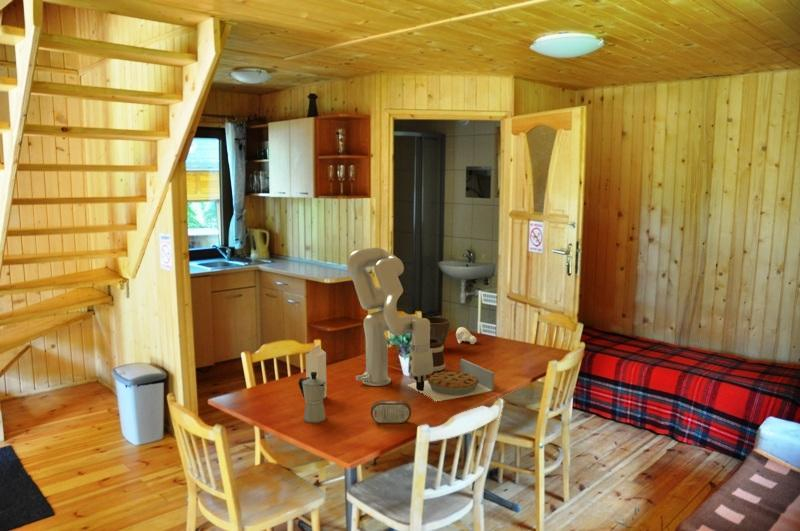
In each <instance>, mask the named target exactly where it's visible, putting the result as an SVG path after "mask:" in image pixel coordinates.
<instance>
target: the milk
mask: <svg viewBox="0 0 800 531" xmlns="http://www.w3.org/2000/svg"><path fill="white" fill-rule="evenodd" d="M311 372H317V376H316V378H319V379H323V380H325V381H326V382H327V353H326V351H324V350H323V349H322V348H321V345H320V344H317V345H315V346H313V347H311V351H309V352H308V353H306V354H305V379H306V378H307V377H310V378H312V377H311ZM325 398H327V383H326V384H325V392H324V398H323V399H325Z"/></svg>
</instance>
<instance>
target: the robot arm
mask: <svg viewBox="0 0 800 531" xmlns="http://www.w3.org/2000/svg"><path fill="white" fill-rule="evenodd" d="M403 263H404V262H403V261H402V260H401V259H400V257H399V258H398V257H397V256H396V255H394V254H392V253H390V252H389V251H387V250H385V249H383V248H381V247H368V248H360V249H357V250H355V251H353V252H352V253H351V254H350V255H349V256H348V259H347V269H348V273H349V276H350V278H351V280H352V282H353V285H354V288H355V292H356V295H357V298H358V301H359V303H360V307H361V308H362V309H363V310H365V311H372V310H378V311H375V312H371V313H369V314H367V315H366V317H364V319H363V324H362V325H363V330H364V336H365V371H364V372H363V373H362V374H361V375H360V374H359V375H355V380H356V381H362V383H363V384H364V385H366V386H370V387H371V386H372V387H381V386H382V387H383V386H387V385H389V384H391V381H392V380H391V377H389V376H388V339H387V337H386V335H385V333H386V332H391V334H392V335H394V336H396V337H400V336H404V335H407V334H411V345H410V346H409V347H408V348H409V350H410V352H409V355H408V356H409V357H408V366H407V368H408V371H407V372H408V378H410V379H414V380H415V383H416V388H417V390H419V391H424V381H427V380H426V379H428V378H429V377H430V375H431V374H432V373H433V357H432V352H431V350H430V321H429V320H428V319H426V318H427V317H418V316H417V315H413V314H407V315H403V316H400V315H399V313H398V309H397V304H398V300H399V298H400V297H401V295H403V292H404V289H403V286H402V283H401V281H400V279H399V276H401V275H403V273H404V271H405V270H404V269H405V267H404V264H403ZM368 268H373V270H374V273H375V275H376V278H377V279H376V280H377V281H378V283H379V286H377V287H376V285H375V284H374V280H373V276H372V275H371V274H370V273H369V272H368V271H367V269H368Z"/></svg>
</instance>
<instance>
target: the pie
mask: <svg viewBox="0 0 800 531" xmlns="http://www.w3.org/2000/svg"><path fill="white" fill-rule="evenodd" d="M427 380H428V383H429V384H430V386H431V388H432V390H434V391H435V392H438V393H442V394H448V395H464V394H468V393H470V392H472V391H473V390H474V389H475V387H476V385H477V384H478V383H479V381H478V378H476V376H474V375H470V374H469V373H466V374H465V373H462V372H461V371H457V372H456V371H452V370H451V371H450V370H449V371H446V370H445V371H443V372H441V373H434V375H431V376H429V377H428V378H427Z"/></svg>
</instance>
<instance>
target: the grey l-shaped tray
mask: <svg viewBox="0 0 800 531" xmlns="http://www.w3.org/2000/svg"><path fill="white" fill-rule="evenodd" d="M460 372H462V373H465V374H466V373H469V374H470V375H474V376H476V378H478V381H479V383H478V384H477V385H476V387H475V389H474V390H473V391H472V392H470V393H468V394H464V395H448V394H442V393H438V392H435V391H434V390H432V388H431V386H430V384H429V383H428V379H427V380H425V381H424V391H419V390H417V388H416V382H412V383H410V384H407V386H408V387H409V386H410V388H411V387H412V390H414V389H415V391H417V392H418V391H419V392H420V394H421V393H423V394H424V395H423V394H422V395H423V396H425V395H426V396H428V397H429V396H430V397H431V398H432V399H433V400H434V401H433V400H432V401H433V402H435V401H436V402H435V403H438V402H437V401H439V402H443V400H444V401H448V400H452V399H453V400H454V399H457V398H463V397H469V396H473V395H478V394H484V393H489V392H494V388H495V387H494V386H495V372H493V371H492V370H489V369H487V368H484V367H482V366H480V365H477V364H475V363H473V362H471V361H468V360H466V359H465V358H460ZM419 392H418V393H419ZM426 396H425V397H426ZM428 397H427V398H428Z"/></svg>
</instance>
